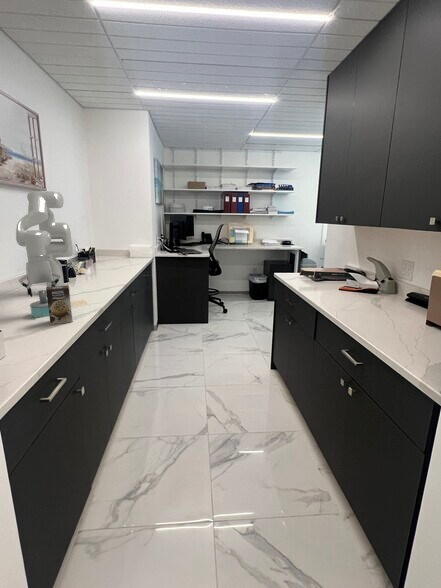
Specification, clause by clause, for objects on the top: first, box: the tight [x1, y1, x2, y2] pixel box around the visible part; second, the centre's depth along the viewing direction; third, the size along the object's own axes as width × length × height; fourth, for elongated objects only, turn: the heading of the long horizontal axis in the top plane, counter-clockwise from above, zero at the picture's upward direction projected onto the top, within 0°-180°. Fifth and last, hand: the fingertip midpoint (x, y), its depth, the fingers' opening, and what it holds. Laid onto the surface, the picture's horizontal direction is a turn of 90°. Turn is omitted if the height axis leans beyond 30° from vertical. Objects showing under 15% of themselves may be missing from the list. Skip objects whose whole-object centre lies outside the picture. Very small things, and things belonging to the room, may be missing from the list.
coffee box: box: [45, 284, 74, 326], centre depth 138 cm, size 9×6×16 cm
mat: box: [70, 299, 89, 308], centre depth 166 cm, size 11×11×1 cm
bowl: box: [29, 305, 49, 319], centre depth 149 cm, size 11×11×5 cm
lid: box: [29, 289, 48, 308], centre depth 147 cm, size 11×11×7 cm
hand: (42, 294), depth 147 cm, fingers open, 9 cm apart
